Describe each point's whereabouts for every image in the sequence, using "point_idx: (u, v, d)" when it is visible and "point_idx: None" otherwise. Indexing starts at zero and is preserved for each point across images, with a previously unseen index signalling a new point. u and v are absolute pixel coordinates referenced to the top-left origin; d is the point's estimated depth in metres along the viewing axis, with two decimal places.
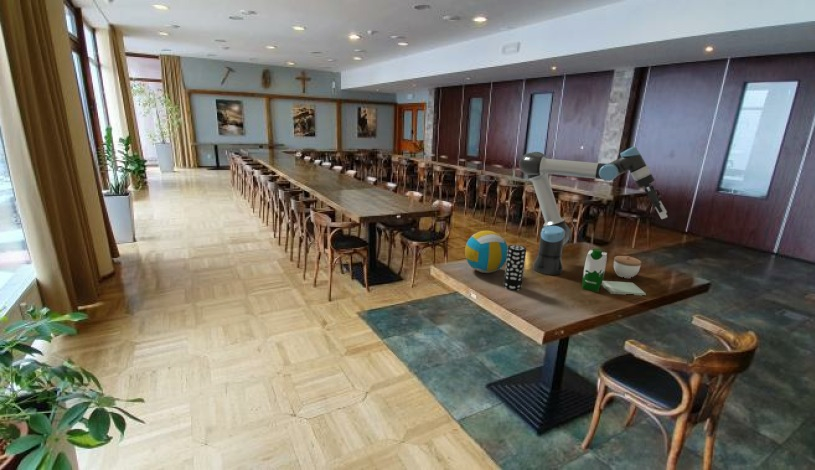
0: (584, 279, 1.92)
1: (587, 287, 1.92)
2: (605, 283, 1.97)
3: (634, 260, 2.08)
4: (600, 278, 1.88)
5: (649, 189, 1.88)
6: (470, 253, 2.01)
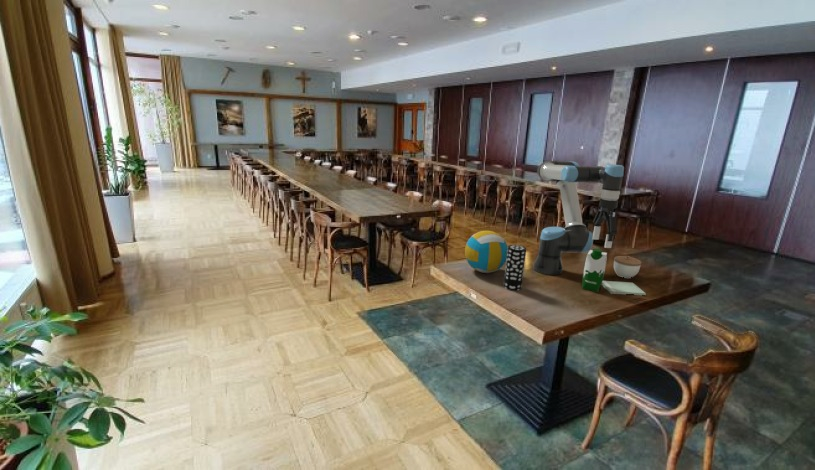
0: (584, 279, 1.92)
1: (587, 287, 1.92)
2: (605, 283, 1.97)
3: (634, 260, 2.08)
4: (600, 278, 1.88)
5: (614, 215, 1.77)
6: (470, 253, 2.01)
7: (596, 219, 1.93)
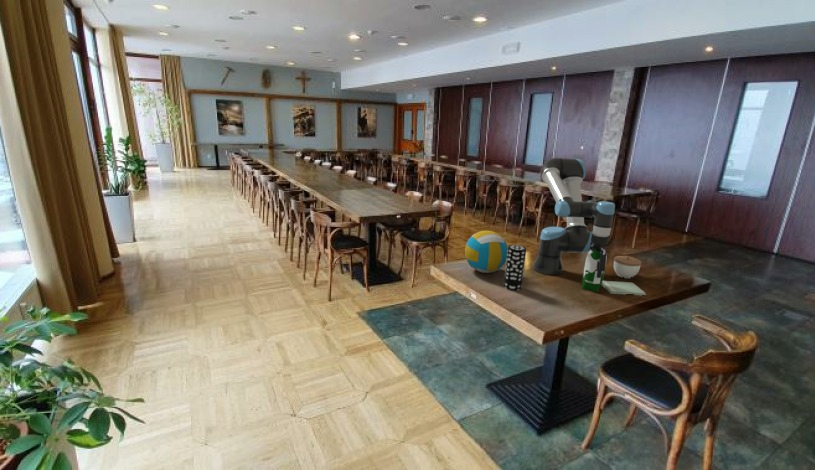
0: (584, 279, 1.92)
1: (587, 287, 1.92)
2: (605, 283, 1.97)
3: (634, 260, 2.08)
4: None
5: (604, 253, 1.83)
6: (470, 253, 2.01)
7: None
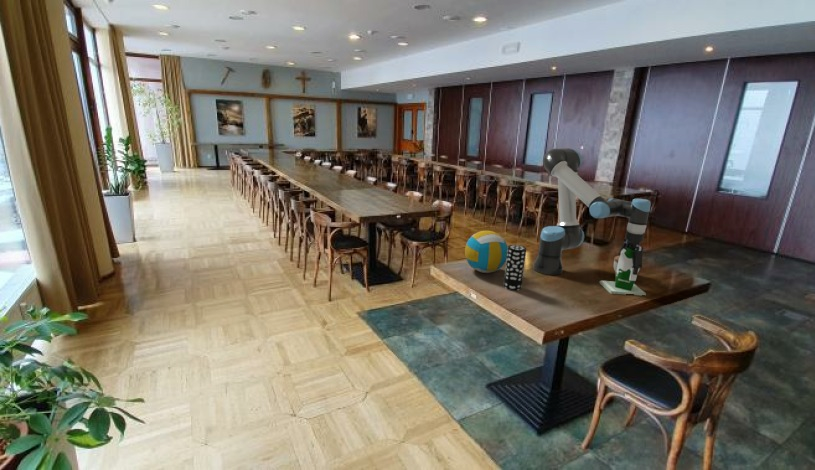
0: (617, 278, 1.92)
1: (620, 285, 1.92)
2: (605, 283, 1.97)
3: None
4: None
5: (640, 249, 1.82)
6: (470, 253, 2.01)
7: None
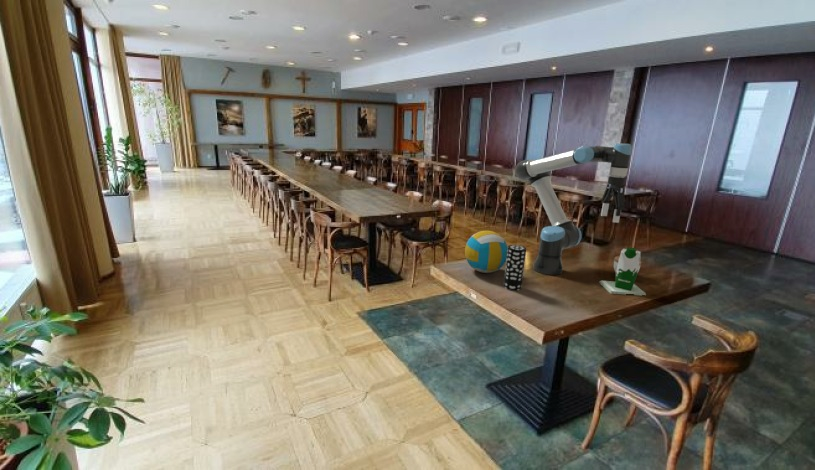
0: (617, 278, 1.92)
1: (620, 285, 1.92)
2: (605, 283, 1.97)
3: None
4: (634, 277, 1.88)
5: (622, 191, 1.88)
6: (470, 253, 2.01)
7: (605, 196, 2.04)
